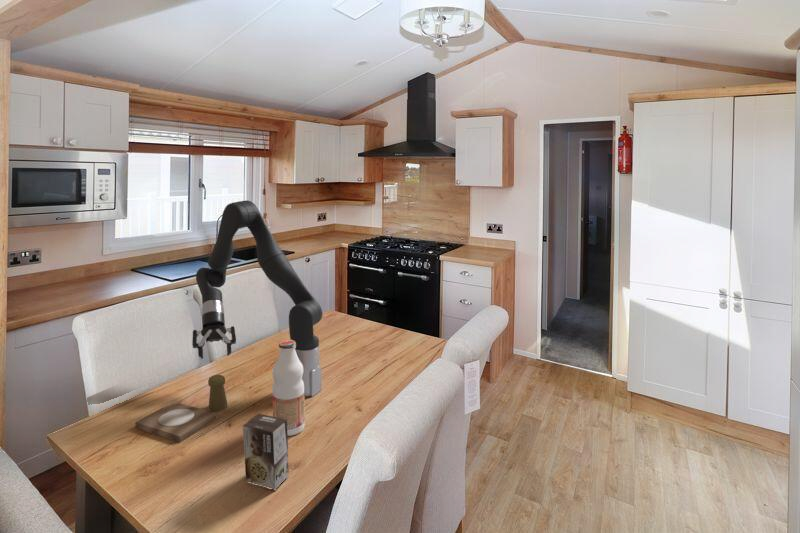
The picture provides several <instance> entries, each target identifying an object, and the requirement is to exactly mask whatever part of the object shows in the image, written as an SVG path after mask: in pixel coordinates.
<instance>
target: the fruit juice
mask: <svg viewBox="0 0 800 533" xmlns="http://www.w3.org/2000/svg"><path fill="white" fill-rule="evenodd" d="M278 348H279V353H278V357H277V359H276V362H275V363H274V364H273V367H272V370H271V371H272V377H273V383H272V388H271V389H272V390H271V391H272V392H271V393H272V417H277V418H282V419H286V420H287V435H288V437H291V436H294V435H295V436H296V435H298V434H300V433H301V432H302V431H303V430H304V429H305V425H306V424H305V423H306V421H305V420H306V417H305V414H306V413H305V409H306V408H305V406H306V405H305V397H304V382H303V380H302V376H303V371H304V370H303V365H302V363H301V362H300V360H299V358H298V356H297V353H296V351H295V348H296V342H295V341H294V340H291V339H284V340H281V341H280V342H278Z"/></svg>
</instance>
